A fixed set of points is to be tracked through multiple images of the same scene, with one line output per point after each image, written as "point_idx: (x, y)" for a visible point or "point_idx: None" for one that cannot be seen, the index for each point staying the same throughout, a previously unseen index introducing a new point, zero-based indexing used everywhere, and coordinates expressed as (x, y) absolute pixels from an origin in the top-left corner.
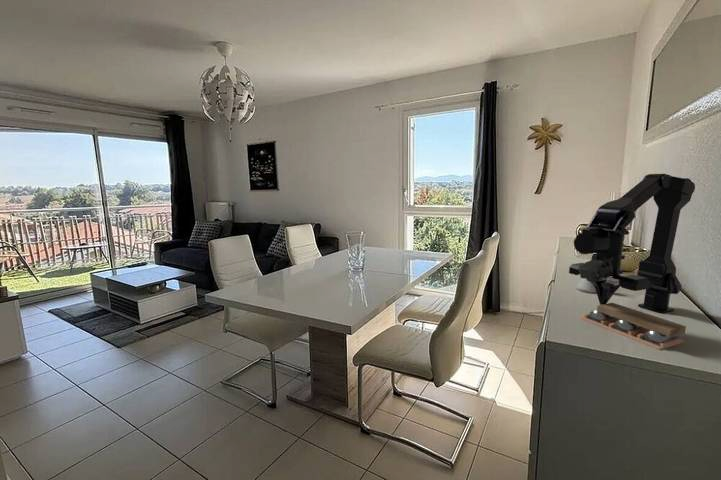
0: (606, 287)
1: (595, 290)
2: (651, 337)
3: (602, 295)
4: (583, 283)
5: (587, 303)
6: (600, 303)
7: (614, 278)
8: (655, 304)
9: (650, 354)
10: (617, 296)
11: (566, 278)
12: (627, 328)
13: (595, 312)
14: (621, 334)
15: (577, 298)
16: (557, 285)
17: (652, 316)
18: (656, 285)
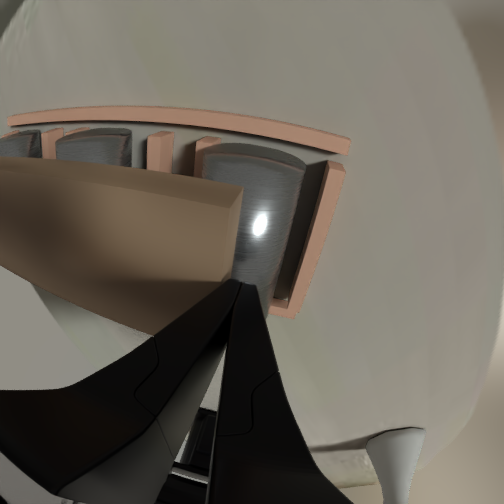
0: (41, 406)
1: (377, 443)
2: (12, 138)
3: (199, 342)
4: (411, 451)
5: (386, 374)
6: (249, 287)
7: None
8: (202, 428)
9: (13, 56)
10: (322, 443)
11: (443, 447)
12: (69, 136)
13: (251, 167)
14: (100, 106)
15: (423, 387)
16: (471, 415)
17: (22, 269)
18: (187, 481)
